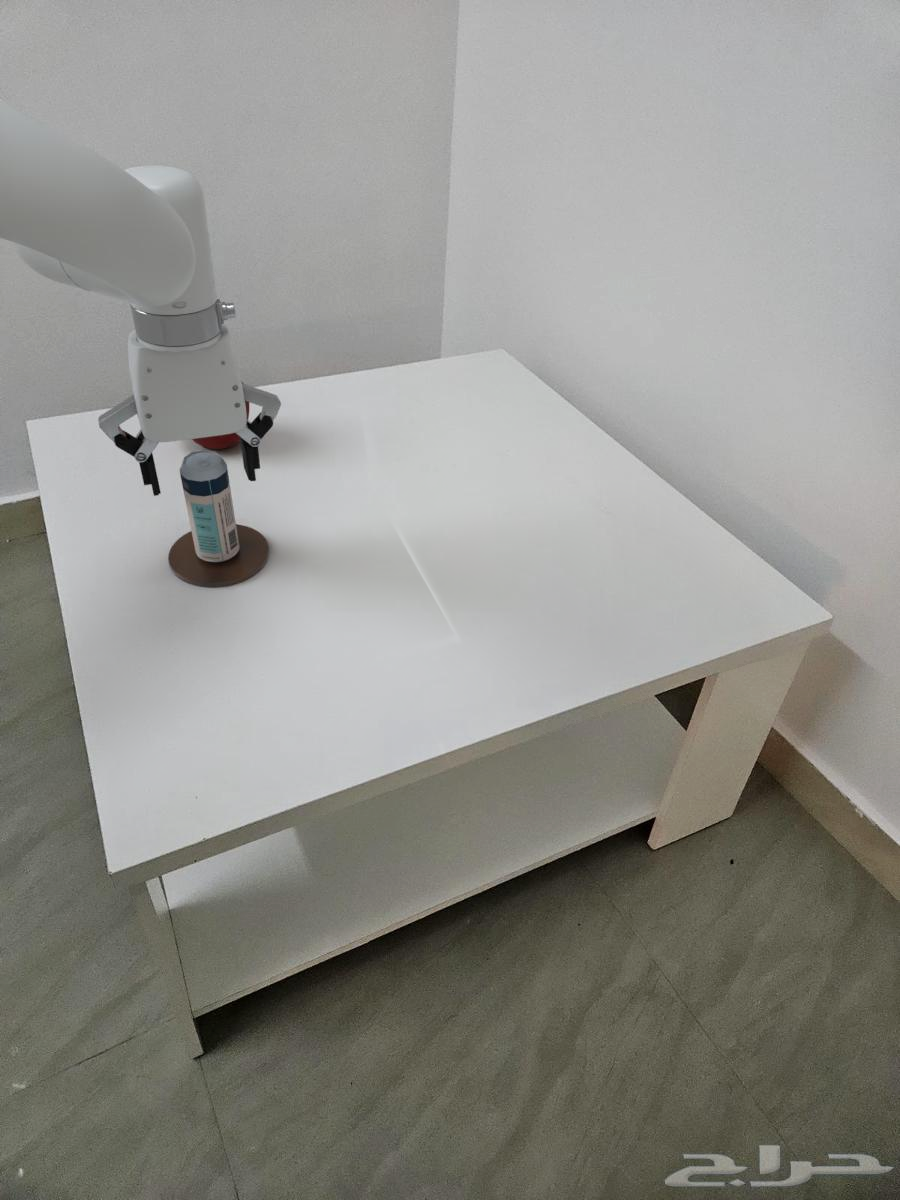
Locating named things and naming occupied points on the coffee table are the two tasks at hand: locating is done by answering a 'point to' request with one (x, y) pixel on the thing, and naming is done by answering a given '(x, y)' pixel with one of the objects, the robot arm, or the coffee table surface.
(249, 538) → the coaster
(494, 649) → the coffee table surface
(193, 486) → the beer can
